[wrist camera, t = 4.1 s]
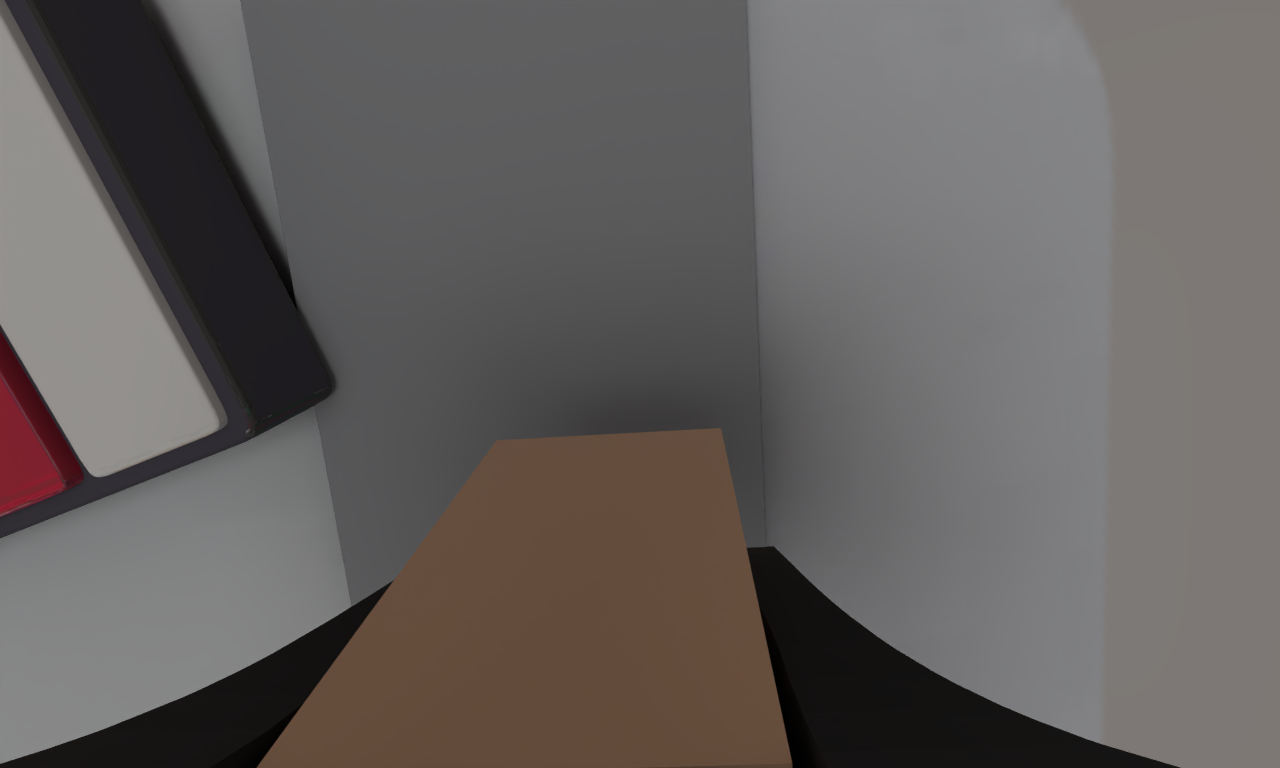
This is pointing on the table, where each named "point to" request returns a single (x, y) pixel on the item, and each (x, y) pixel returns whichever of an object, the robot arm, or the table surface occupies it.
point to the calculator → (124, 271)
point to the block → (562, 624)
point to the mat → (511, 237)
